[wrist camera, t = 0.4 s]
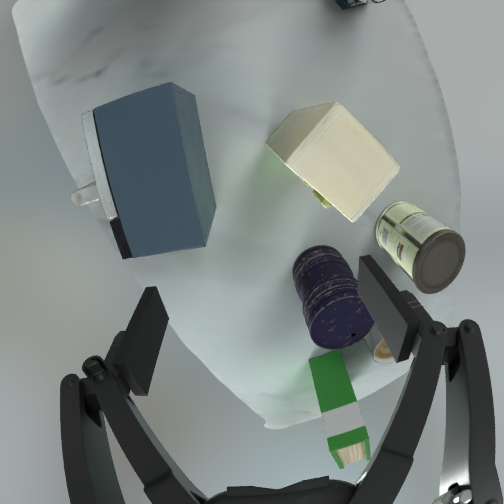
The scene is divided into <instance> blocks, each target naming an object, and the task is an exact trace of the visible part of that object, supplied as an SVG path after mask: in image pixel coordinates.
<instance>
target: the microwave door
mask: <svg viewBox="0 0 504 504" xmlns="http://www.w3.org/2000/svg"><path fill="white" fill-rule="evenodd" d="M81 117H82V123H83V128H84V134H85V139H86V143H87V148H88V153H89V157H90V161H91V165H92V169H93V173H94V177H95V181H94V182H92V183H90V184H88V185H86V186H84V187H82V188H80V189H78V190H77V191H75V192H73V193H72V195H71V201H72V203H73V204H74V205H75V206H80V205H83V204H86V203H90V202H93V201H96V200H100V199H101V202H102V206H103V209H104V212H105V215H106V219H109V218H113V217H117V216H118V215H119V214H118V211H117V207H116V204H115V200H114V197H113V193H112V190H111V186H110V182H109V179H108V175H107V171H106V167H105V163H104V158H103V154H102V150H101V145H100V140H99V135H98V130H97V125H96V120H95V114H94V110H91V111H88V112H86V113H84V114H82V115H81Z"/></svg>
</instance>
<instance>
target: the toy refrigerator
mask: <svg viewBox="0 0 504 504" xmlns="http://www.w3.org/2000/svg"><path fill="white" fill-rule="evenodd" d="M266 145H267V146H268V147H269V148H270V149H271V150H272V151H273V152H274V153H275V154H276V155H277V156H278V157H279V158H280V160H281V161H282V162H283V163H284V164H285V165H287V166H288V167H289V168H290V169H291V170H292V171H294V172H295V173H296V174H297V175H298V176H300V178H301V179H302V180H303V182H304V183H305V184H306V185H307V186H309V187H313V188H314V191H313V192H312V193H313V195H314V196H315V197H316V198H317V199H318V200H319V201H320V203H321V204H322V205H323V206H324V207H325V208H327V209H328V208H329V207H330V206H331V205H333V206H334V207H335V208H337V209H338V210H339V211H340V212H341V213H342V214H343V215H344V216H345V217H347V218H348V219H349V220H350V221H351V222H355V221H356V220H357V219H358V218H359V217H360V216H361V215H362V214H363V212H364V211H365V210H366V209H367V208H368V207H369V206H370V204H371V203H372V202H373V201H374V200H375V199H376V197H377V196H378V195H379V194H380V193H381V192H382V191H383V189H384V188H385V187H386V186H387V185H388V184H389V182H390V181H391V180H392V179H393V178H394V176H395V175H396V174H397V173H398V171H399V169H400V168H399V165H398V164H397V162H396V161H395V160H394V159H393V157H392V156H391V155H390V154H389V153H388V152H387V151H386V150H385V148H384V147H383V146H382V145H381V144H380V143H379V142H378V141H377V140H376V139H375V138H374V137H373V136H372V135H371V133H370V132H369V131H368V130H367V129H366V128H365V127H364V126H363V125H362V124H361V123H360V122H359V121H358V120H357V119H356V118H355V117H354V116H353V115H352V114H351V113H350V112H348V111H347V110H346V109H345V108H344V107H343V106H342V105H341V104H339V103H337V102H332V103H327V104H322V105H317V106H313V107H309V108H304V109H299V110H296V111H292V112H291V113H290V115H289V116H288V117H287V118H286V119H285V120H284V121H283V123H282V124H281V125H280V126H279V127H278V128H277V130H276V131H275V132H274V133H273V134H272V136H271V137H270V138H269V139H268V140H267V142H266Z"/></svg>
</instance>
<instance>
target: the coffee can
mask: <svg viewBox="0 0 504 504" xmlns="http://www.w3.org/2000/svg"><path fill="white" fill-rule="evenodd" d="M376 239H377V242H378V244H379V246H380V247H381V248H382V249H383V250H384V251H385V252H386V253H387V254H388V255H389V256H390V257H391V258H392V259H393V260H394V261H395V262H396V263H397V264H398V265H399V266H400V267H401V269H402V270H403V271H404V272H405V273H406V274H407V275H408V276H409V277H410V279H411V280H412V281H413V282H414V283H415V285H416V287H417V288H418V289H419V290H420V291H421V292H423V293H426V294H433V293H437V292H439V291H441V290H443V289H444V288H446V287H447V286H448V285H449V284H451V283H452V281H453V280H454V279H455V278H456V276H457V275H458V273H459V271H460V270H461V267H462V265H463V262H464V258H465V243H464V240H463V238H462V237H461V235H460V234H458V233H457V232H455V231H453V230H451V229H450V228H448V227H447V226H445V225H444V224H442V223H441V222H439V221H438V220H436V219H434V218H433V217H431V216H430V215H428V214H427V213H425V212H423V211H422V210H420V209H418V208H417V207H415V206H414V205H413V204H411V203H409V202H406V201H399V202H395V203H393V204H391V205H389V206H388V207H387V208H386V209H385V210H384V211H383V212H382V214H381V215H380V217H379V219H378V221H377V225H376Z"/></svg>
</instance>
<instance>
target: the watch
mask: <svg viewBox="0 0 504 504" xmlns="http://www.w3.org/2000/svg"><path fill="white" fill-rule="evenodd" d="M383 1H385V0H336V2H337V3H338V4H339V6H340V7H341V8H342V9H343V10H344V9H348V8H351V7H355V6H359V5H363V4H370V3H381V2H383Z"/></svg>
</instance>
